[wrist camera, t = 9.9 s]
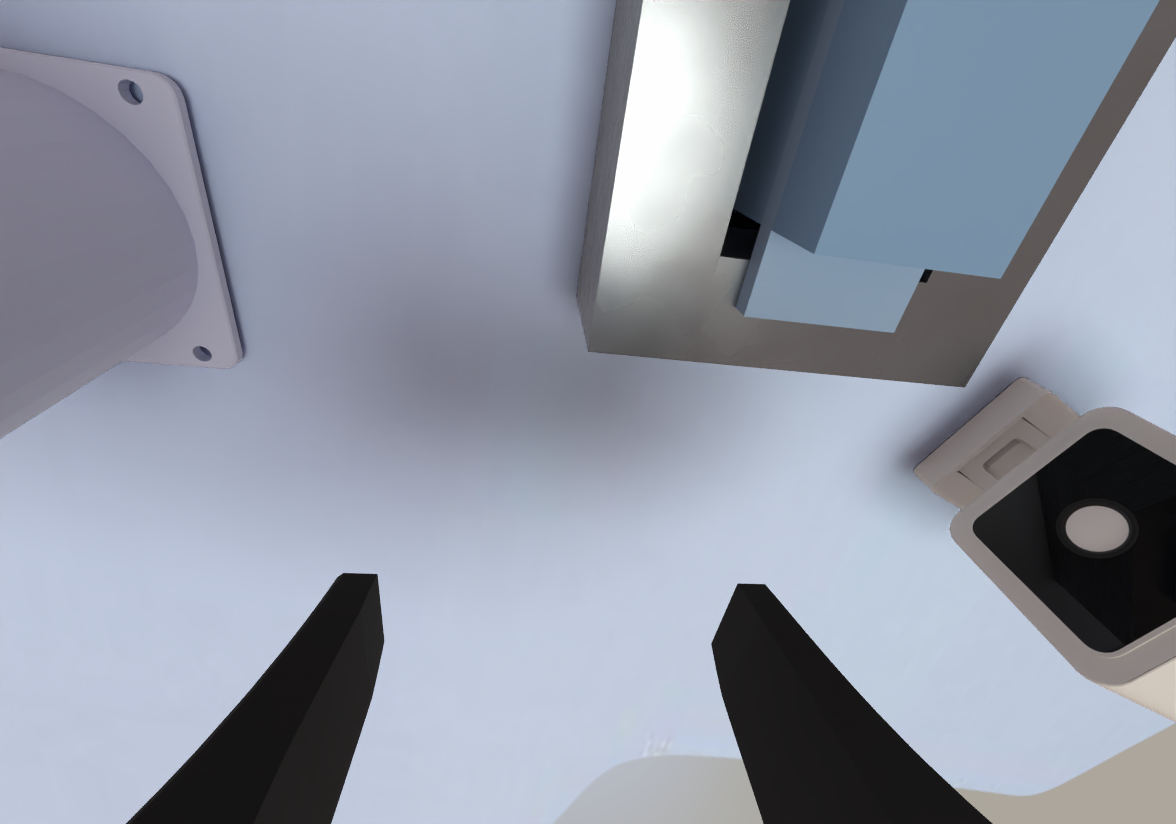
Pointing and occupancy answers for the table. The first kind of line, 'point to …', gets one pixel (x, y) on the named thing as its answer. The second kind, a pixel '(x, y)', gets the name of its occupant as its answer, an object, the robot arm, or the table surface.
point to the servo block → (914, 144)
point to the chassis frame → (722, 254)
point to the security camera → (1073, 530)
